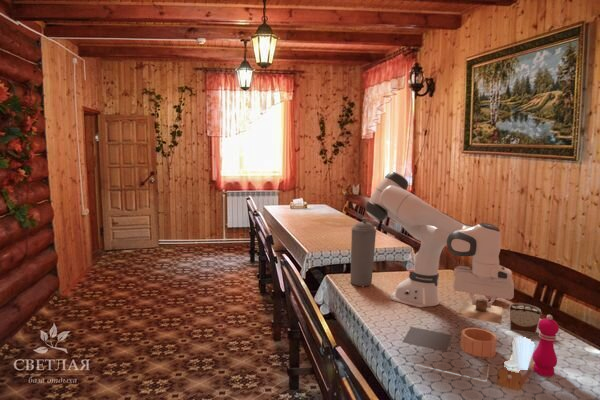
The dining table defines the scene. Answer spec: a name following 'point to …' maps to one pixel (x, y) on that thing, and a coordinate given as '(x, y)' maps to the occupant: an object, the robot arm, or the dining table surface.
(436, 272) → the robot arm
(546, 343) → the pepper mill
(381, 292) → the dining table surface
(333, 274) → the dining table surface
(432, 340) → the mat
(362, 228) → the canister
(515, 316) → the food container
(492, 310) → the lid
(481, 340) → the bowl
